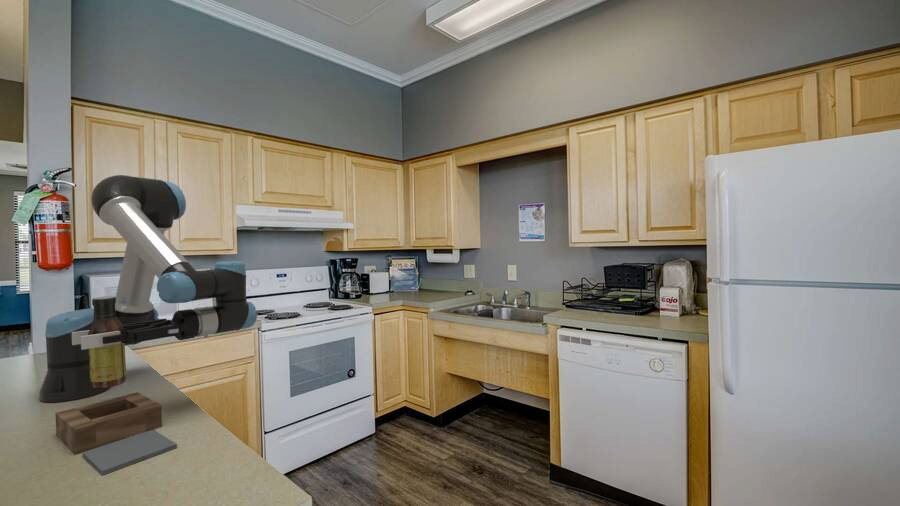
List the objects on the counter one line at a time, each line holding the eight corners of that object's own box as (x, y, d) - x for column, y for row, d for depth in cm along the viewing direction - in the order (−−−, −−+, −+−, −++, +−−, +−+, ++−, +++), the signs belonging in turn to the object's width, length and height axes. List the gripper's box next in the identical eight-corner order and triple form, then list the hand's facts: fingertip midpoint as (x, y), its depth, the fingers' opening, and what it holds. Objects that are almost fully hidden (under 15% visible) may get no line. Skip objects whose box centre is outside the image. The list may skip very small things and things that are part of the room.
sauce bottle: (104, 380, 95) (101, 295, 95) (133, 379, 96) (130, 294, 95) (81, 390, 89) (78, 299, 88) (112, 389, 89) (109, 298, 89)
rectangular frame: (56, 435, 91) (55, 413, 91) (137, 412, 103) (136, 392, 103) (75, 454, 82) (74, 429, 82) (162, 426, 94) (161, 404, 94)
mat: (82, 456, 81) (82, 452, 81) (153, 433, 91) (153, 429, 91) (102, 475, 74) (102, 471, 74) (176, 447, 84) (176, 443, 84)
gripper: (212, 342, 101) (91, 365, 82) (178, 333, 112) (65, 351, 93) (211, 312, 101) (89, 328, 82) (177, 305, 112) (64, 319, 93)
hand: (77, 340), depth 88 cm, fingers closed on sauce bottle, 6 cm apart
